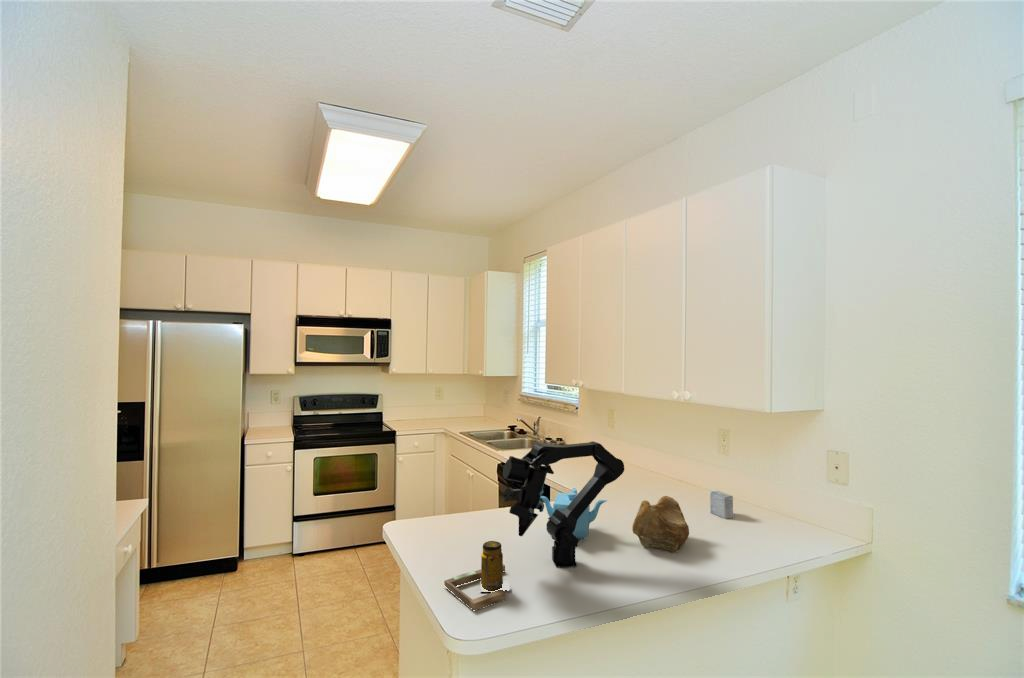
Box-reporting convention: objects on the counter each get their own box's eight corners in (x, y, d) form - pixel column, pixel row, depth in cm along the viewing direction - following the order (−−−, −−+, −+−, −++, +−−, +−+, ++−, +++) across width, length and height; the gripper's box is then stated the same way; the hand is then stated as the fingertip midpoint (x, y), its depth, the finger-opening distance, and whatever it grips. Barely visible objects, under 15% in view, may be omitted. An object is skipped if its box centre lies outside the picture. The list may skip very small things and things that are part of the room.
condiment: (479, 581, 145) (479, 539, 145) (508, 580, 146) (509, 538, 146) (480, 593, 138) (480, 549, 138) (511, 592, 139) (511, 548, 139)
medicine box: (733, 517, 199) (733, 495, 199) (724, 519, 198) (724, 497, 198) (718, 511, 207) (718, 490, 207) (710, 513, 205) (709, 491, 205)
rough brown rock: (669, 565, 158) (674, 518, 157) (624, 546, 169) (628, 502, 169) (702, 547, 174) (707, 504, 173) (659, 530, 186) (663, 490, 185)
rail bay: (501, 569, 153) (501, 562, 153) (533, 589, 140) (533, 581, 140) (444, 587, 141) (444, 579, 141) (473, 611, 129) (473, 602, 129)
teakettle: (568, 548, 169) (569, 504, 169) (535, 531, 184) (535, 490, 184) (609, 536, 179) (609, 495, 179) (574, 521, 195) (574, 483, 195)
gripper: (518, 474, 166) (505, 521, 164) (500, 479, 148) (486, 532, 146) (550, 485, 162) (537, 533, 160) (536, 491, 144) (521, 545, 143)
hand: (520, 535), depth 153 cm, fingers closed
